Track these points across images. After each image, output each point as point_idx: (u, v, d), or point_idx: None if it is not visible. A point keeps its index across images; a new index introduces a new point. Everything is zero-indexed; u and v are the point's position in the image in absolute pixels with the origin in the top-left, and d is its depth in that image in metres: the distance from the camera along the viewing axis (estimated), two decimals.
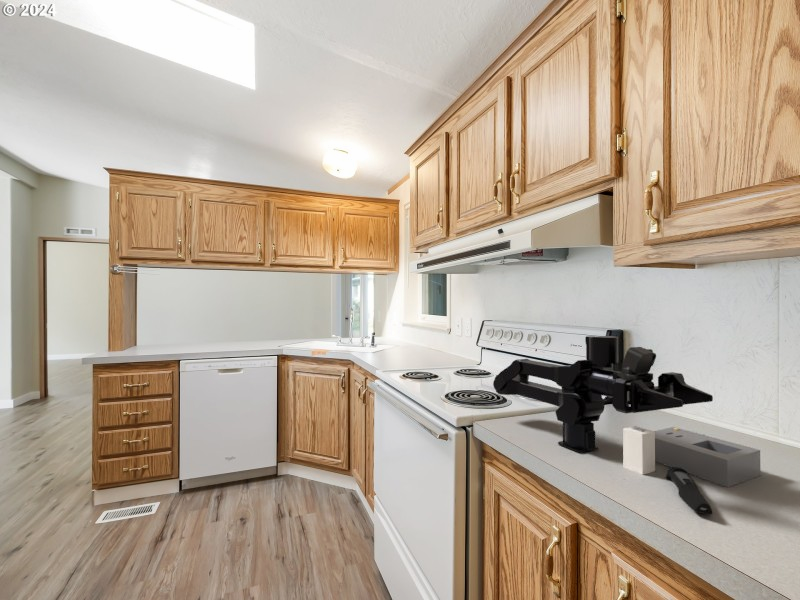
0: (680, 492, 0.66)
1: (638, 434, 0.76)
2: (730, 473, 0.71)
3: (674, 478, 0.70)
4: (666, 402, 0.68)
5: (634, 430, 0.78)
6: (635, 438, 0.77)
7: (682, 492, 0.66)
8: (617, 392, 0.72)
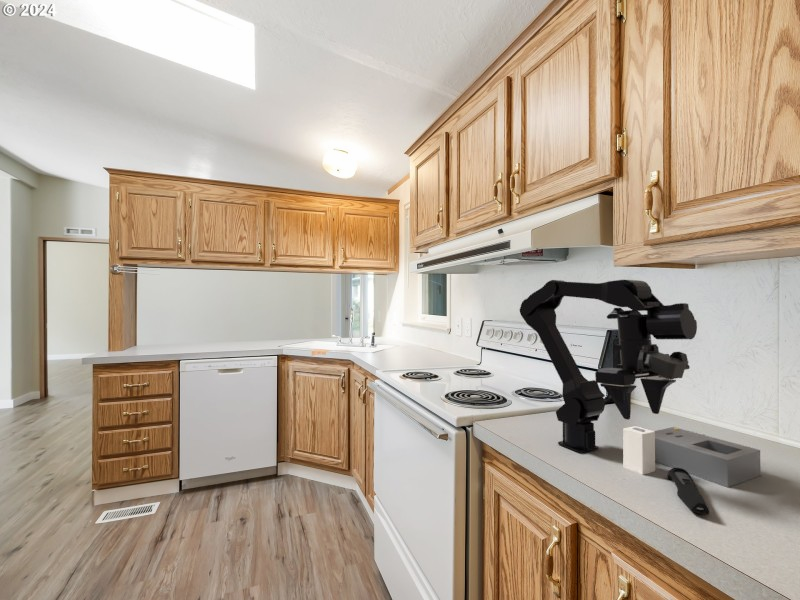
0: (678, 492, 0.66)
1: (638, 434, 0.76)
2: (730, 473, 0.71)
3: (674, 478, 0.70)
4: (622, 408, 0.76)
5: (634, 430, 0.78)
6: (635, 438, 0.77)
7: (680, 492, 0.66)
8: (610, 377, 0.74)
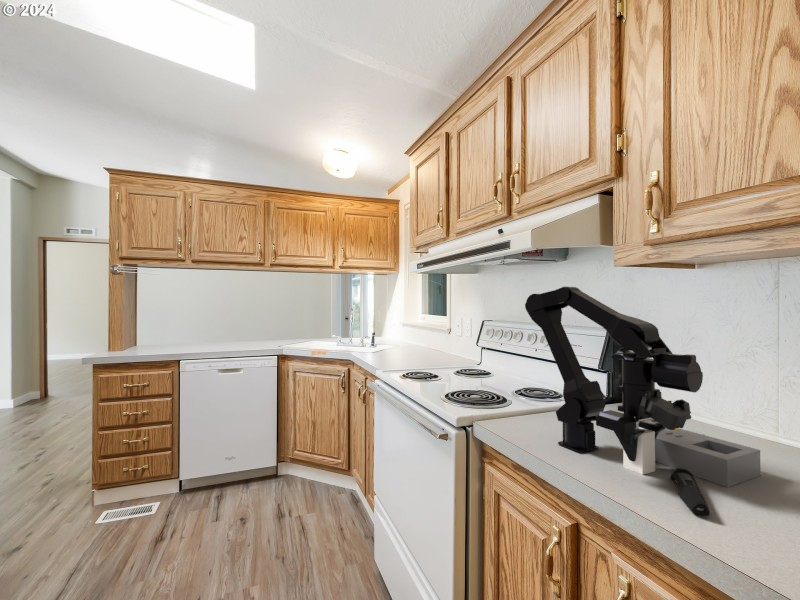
0: (680, 492, 0.66)
1: None
2: (730, 473, 0.71)
3: (676, 479, 0.70)
4: (628, 450, 0.77)
5: None
6: None
7: (682, 493, 0.66)
8: (610, 423, 0.74)
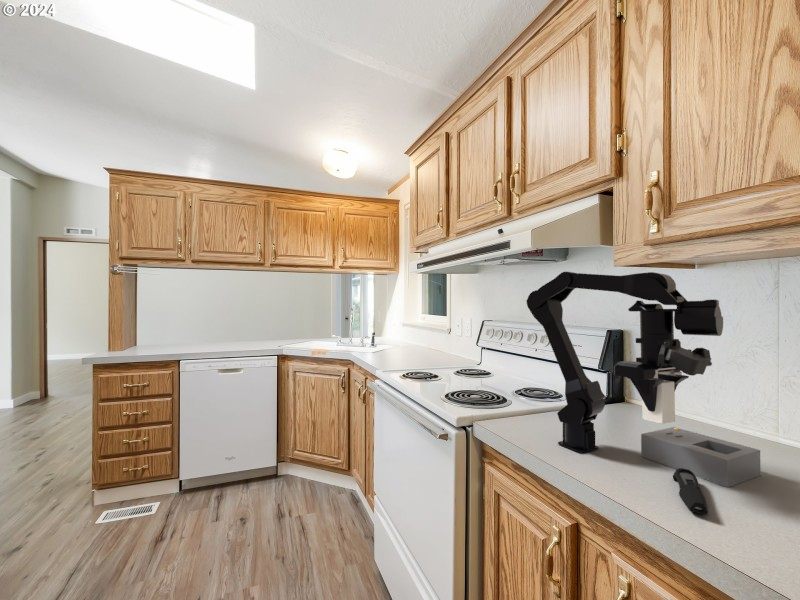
0: (680, 492, 0.66)
1: None
2: (730, 473, 0.71)
3: (678, 479, 0.70)
4: (647, 400, 0.77)
5: None
6: None
7: (682, 492, 0.66)
8: (629, 371, 0.74)
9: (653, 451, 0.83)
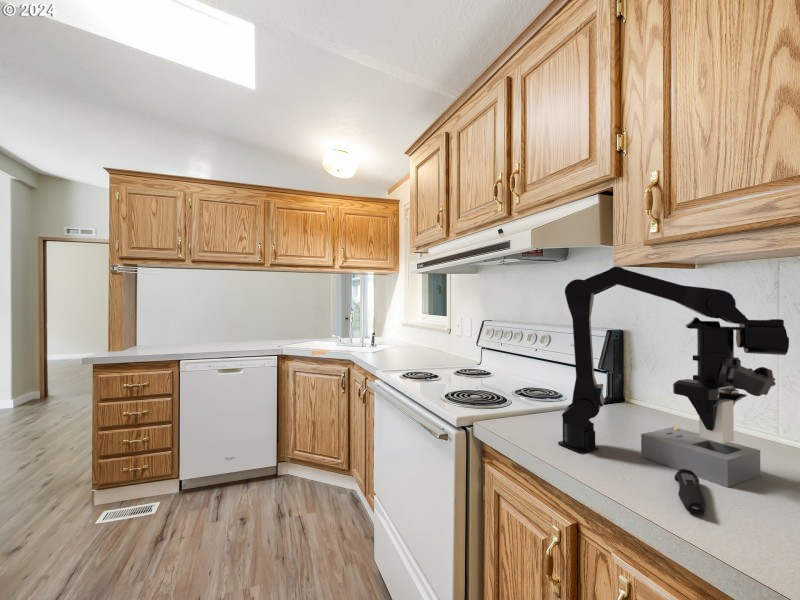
0: (679, 492, 0.66)
1: None
2: (730, 473, 0.71)
3: (678, 479, 0.70)
4: (706, 419, 0.76)
5: None
6: None
7: (681, 492, 0.66)
8: (692, 391, 0.73)
9: (653, 451, 0.83)
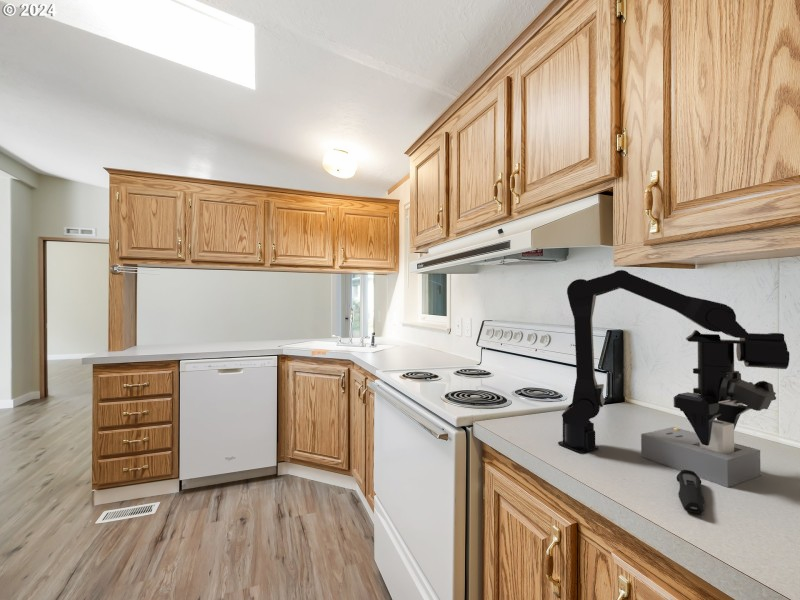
0: (679, 492, 0.66)
1: (718, 426, 0.75)
2: (730, 473, 0.71)
3: (679, 479, 0.70)
4: (701, 434, 0.75)
5: None
6: (714, 430, 0.76)
7: (680, 492, 0.66)
8: (692, 405, 0.73)
9: (653, 451, 0.83)
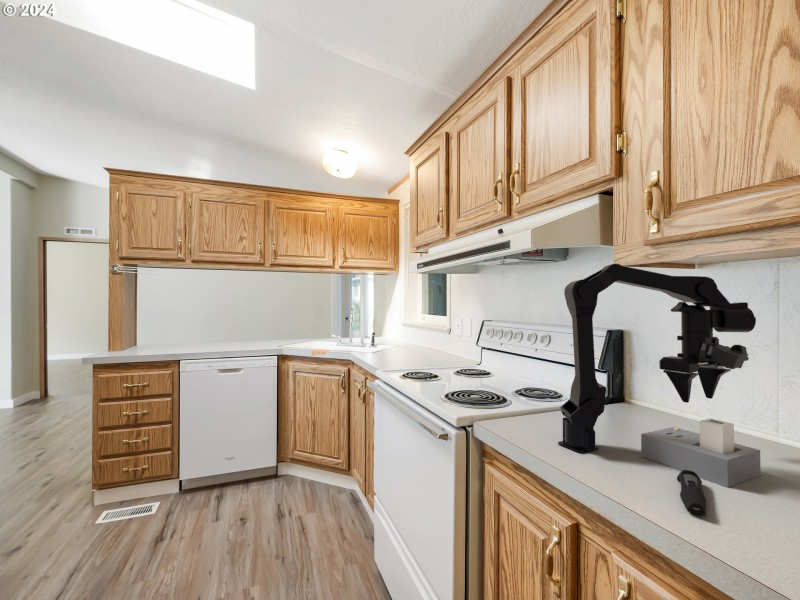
0: (681, 493, 0.66)
1: (718, 426, 0.75)
2: (730, 473, 0.71)
3: (680, 480, 0.69)
4: (682, 392, 0.85)
5: (712, 422, 0.77)
6: (714, 430, 0.76)
7: (682, 493, 0.66)
8: (675, 365, 0.83)
9: (653, 451, 0.83)
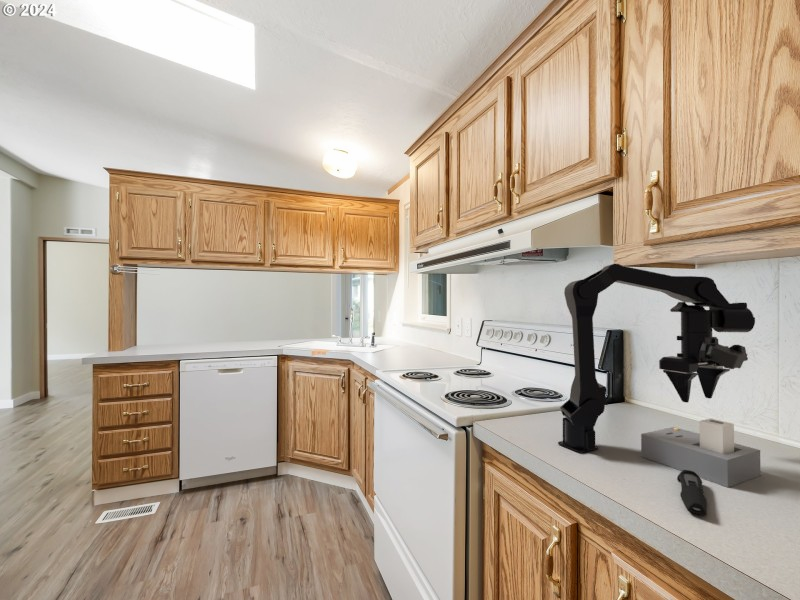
0: (681, 493, 0.66)
1: (718, 426, 0.75)
2: (730, 473, 0.71)
3: (681, 480, 0.69)
4: (682, 392, 0.85)
5: (712, 422, 0.77)
6: (714, 430, 0.76)
7: (683, 493, 0.65)
8: (675, 365, 0.83)
9: (653, 451, 0.83)
